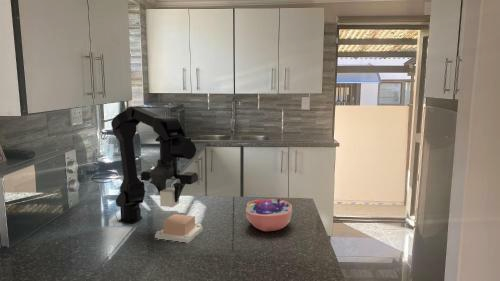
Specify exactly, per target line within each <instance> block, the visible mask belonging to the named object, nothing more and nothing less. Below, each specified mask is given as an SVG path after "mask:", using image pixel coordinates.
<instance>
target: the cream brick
mask: <svg viewBox="0 0 500 281" xmlns="http://www.w3.org/2000/svg"><path fill="white" fill-rule="evenodd" d="M159 198H160V199H159V200H160V202H159V204H160V205H159V206H161V207H166V208H168V207H169V208H174V207H175V206H177V205H178V204H180V198H179V199H178V202H175V187H174V188H173V187H172V188H171V187H166V189H164V190H162V191H160V194H159Z"/></svg>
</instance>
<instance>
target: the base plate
mask: <svg viewBox="0 0 500 281" xmlns="http://www.w3.org/2000/svg"><path fill="white" fill-rule="evenodd" d="M203 229H204V228H203V225H202V224H201V223H196V216H193V215H187V214H185V215H184V214H177V213H174V214H172V215H170V216H169V217H168V218H166V219H165V220H163V222H162V229H161V230H157V231H156V233H154V239H155V238H158V239H157V240H159V239H165V240H164V241H166V240H173V241H172V242H174V241H179V242H178V243H181V242H186V243H185V244H189V243H191V241H193V239H194V238H196V237H197V235H199V234H200V233H201V232H203ZM195 236H196V237H195ZM188 242H189V243H188Z"/></svg>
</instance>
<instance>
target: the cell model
mask: <svg viewBox="0 0 500 281" xmlns="http://www.w3.org/2000/svg"><path fill="white" fill-rule="evenodd" d="M245 212H246V219H247V220H248V221H249V222H250V224H251V225H252V226H253V227H254V228H256V229H258V230H259V231H260V232H273V231H278V230H282V229H283V228H285V227H286V226H287V225H288V224H289V222H290V221H291V218H292V214H293V205H292V204H291V203H289V202H288V201H286V200H283V199H280V198H268V199H267V198H266V199H255V200H252V201H248V202H247V203H246V208H245Z"/></svg>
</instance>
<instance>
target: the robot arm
mask: <svg viewBox="0 0 500 281" xmlns="http://www.w3.org/2000/svg"><path fill="white" fill-rule="evenodd" d="M140 123H142V124H145V125H146V126H149V127H150V128H152V130H153V132H154V133H155V134H157V135H158V136H157V137H156V138H155V142H158V143H159V159H157V164H156V165H157V166H155V167H154V168H149V169H146V170H143V171H142V172H141V173H140V178H139V177H138V170H137V161H136V154H135V144H134V138H135V136H136V133H137V126H138V125H139V124H140ZM110 126H111V128H112V132H113V135H114V136H115V137H116V138H117V140H118V143H119V150H120V152H119V153H120V160H121V167H122V176H123V177H122V178H123V180H122V183H121V184H120V186H119V192H120V193H119V194H118V196H117V198H116V199H115V206H117V207H119V208H120V219H118V222H120V223H124V224H125V223H126V224H134V223H137V222H138V221H139V220H142V218H143V216H142V213H141V207H140V204H144V198H145V194H146V189H145V183H144V182H148V181H149V183H150V184H153V185H154V187H155V188H156V189H157V192H158V194H159V195H160V191H162V190H164V189H166V188H167V180H175V183H173V184H172V186H173V187H174V189H175V202H178V199H179V200H180V197H181V194H182V192H183V189H184V187H185V186H186V185H192V184H195V183H196V182H198V181H199V175H198V173H197V172H193V171H186V172H184V173H181V171H180V169H179V166H178V165H179V163H178V162H180V159H184V160H192V159H193V158H194V157H195V155H196V152H197V147H196V145H195V143H194V141H192V138H191V137H190V136H189V137H187V135H186V132H185V130H184V129H183V126H182V125H181V123H180V120H179V119H178V118H177V117H174V116H168V115H166V116H164V115H163V116H162V115H159V114H156V113H155V112H153V111H150V110H148V109H144V108H143V107H142V106H138V105H137V106H135V105H134V106H129V107H127V108H125V110H123V111H122V112H120V113H118V114H116V115H115V116H114V117H113V119H112V120H111V125H110ZM180 173H181V174H180Z"/></svg>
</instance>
